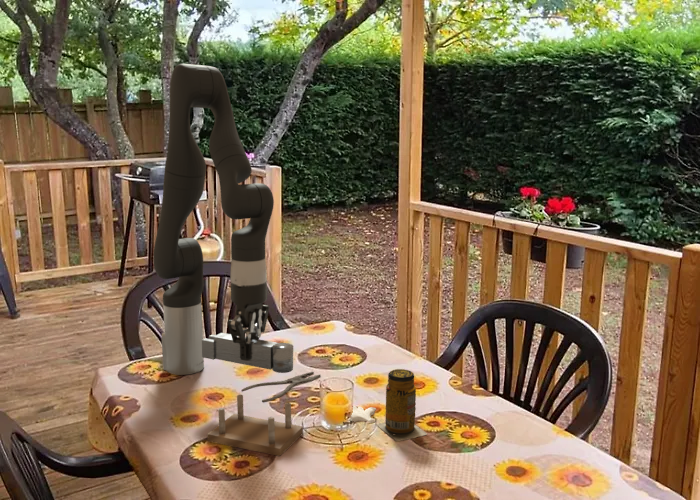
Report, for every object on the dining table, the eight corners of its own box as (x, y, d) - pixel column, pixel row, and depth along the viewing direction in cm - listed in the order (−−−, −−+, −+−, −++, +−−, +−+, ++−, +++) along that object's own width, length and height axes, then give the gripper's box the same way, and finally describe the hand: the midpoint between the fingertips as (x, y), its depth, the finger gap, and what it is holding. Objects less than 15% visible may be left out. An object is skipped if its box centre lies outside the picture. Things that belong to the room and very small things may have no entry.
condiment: (406, 418, 144) (407, 364, 142) (427, 435, 137) (429, 378, 134) (376, 425, 141) (376, 370, 139) (396, 442, 134) (397, 385, 131)
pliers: (235, 391, 157) (292, 365, 173) (235, 394, 157) (292, 368, 173) (266, 401, 152) (322, 374, 167) (266, 405, 152) (322, 377, 168)
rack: (207, 441, 134) (206, 410, 133) (234, 420, 143) (233, 391, 142) (279, 456, 128) (279, 423, 127) (302, 433, 137) (302, 403, 136)
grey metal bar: (201, 357, 148) (201, 335, 147) (212, 351, 152) (212, 329, 151) (287, 374, 141) (287, 351, 140) (296, 367, 145) (297, 344, 144)
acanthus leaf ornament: (342, 426, 142) (342, 417, 142) (342, 412, 149) (341, 404, 148) (378, 425, 142) (378, 416, 142) (376, 411, 149) (376, 403, 149)
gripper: (250, 270, 150) (251, 344, 154) (214, 285, 137) (216, 365, 141) (280, 273, 147) (280, 349, 151) (247, 289, 135) (248, 371, 138)
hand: (249, 356), depth 146 cm, fingers closed on grey metal bar, 3 cm apart
